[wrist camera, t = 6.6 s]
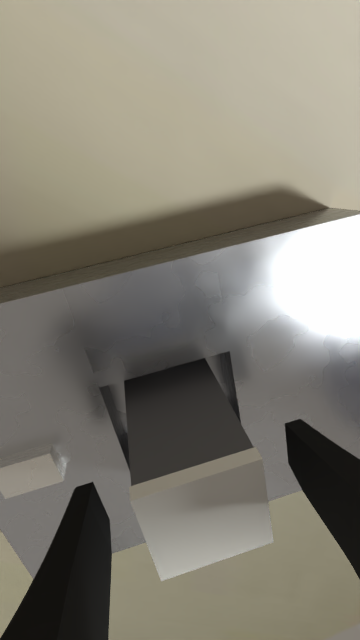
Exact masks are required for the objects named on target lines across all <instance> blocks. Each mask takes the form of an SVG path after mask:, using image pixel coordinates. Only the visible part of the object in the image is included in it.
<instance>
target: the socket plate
mask: <svg viewBox="0 0 360 640" xmlns="http://www.w3.org/2000/svg"><path fill="white" fill-rule="evenodd" d="M203 358H205V359H206V361H207V363H208V365H209V366H210V368H211V370H212V372H213V374H214V375H215V377H216V379H217V381H218V383H219V385H220V386H221V388H222V390H223V392H224V394H225V396H226V397H227V399H228V401H229V403H230V405H231V406H232V408H233V410H234V412H235V414H236V416H237V417H238V419H239V421H240V423H241V425H242V427H243V428H244V430H245V432H246V434H247V436H248V437H249V439H250V441H251V443H252V445H253V447H256V448H257V450H258V452H259V453H260V455H261V457H262V459H263V466H264V474H265V482H266V489H267V497H268V501H271V500H274V499H277V498H280V497H283V496H286V495H289V494H292V493H295V492H298V491H301V490H302V489H301V487H300V485H299V483H298V481H297V479H296V477H295V475H294V473H293V471H292V469H291V468H290V466H289V464H288V455H287V444H286V432H285V423H288V422H291V421H294V420H298V419H301V420H303V421H304V422H306V423H307V424H309V425H310V426H311V427H313V428H314V429H316V430H317V431H318V432H320V433H321V434H323V435H324V436H326V437H327V438H328V439H330V440H331V441H333V442H334V443H336V444H337V445H339V446H340V447H342V448H343V449H345V450H346V451H348V452H349V453H351V454H352V455H354V456H356V457H357V458H359V459H360V211H357V210H347V209H337V208H327V209H323V210H319V211H315V212H311V213H306V214H302V215H298V216H294V217H290V218H286V219H282V220H278V221H274V222H270V223H265V224H261V225H257V226H253V227H249V228H245V229H241V230H237V231H233V232H229V233H224V234H220V235H216V236H212V237H208V238H204V239H200V240H196V241H192V242H188V243H183V244H179V245H175V246H171V247H167V248H163V249H159V250H155V251H151V252H147V253H142V254H138V255H134V256H130V257H126V258H122V259H118V260H114V261H110V262H105V263H101V264H97V265H93V266H89V267H85V268H81V269H77V270H73V271H69V272H64V273H60V274H56V275H52V276H48V277H44V278H40V279H36V280H32V281H28V282H23V283H19V284H15V285H11V286H7V287H3V288H0V530H1V531H2V533H3V534H4V536H5V537H6V539H7V540H8V542H9V543H10V545H11V546H12V548H13V549H14V551H15V552H16V554H17V555H18V557H19V558H20V560H21V561H22V563H23V564H24V566H25V567H26V569H27V570H28V572H29V573H30V575H31V576H32V578H33V579H34V577H35V576H36V574H37V572H38V570H39V568H40V566H41V564H42V562H43V560H44V558H45V556H46V553H47V551H48V549H49V547H50V545H51V543H52V540H53V538H54V536H55V534H56V532H57V529H58V527H59V525H60V522H61V520H62V518H63V515H64V513H65V511H66V508H67V506H68V503H69V501H70V498H71V496H72V493H73V491H74V489H75V488H76V487H77V486H81V485H84V484H87V483H91V482H93V483H94V485H95V487H96V490H97V492H98V494H99V496H100V499H101V501H102V503H103V506H104V508H105V510H106V512H107V515H108V517H109V519H110V531H111V548H112V553H115V552H118V551H121V550H124V549H127V548H130V547H133V546H136V545H139V544H142V543H145V542H146V541H145V538H144V535H143V533H142V530H141V528H140V525H139V523H138V520H137V518H136V515H135V512H134V510H133V507H132V505H131V502H130V491H129V487H130V486H131V477H130V462H129V448H128V433H127V419H126V404H125V390H124V381H125V380H129V379H132V378H136V377H139V376H143V375H146V374H150V373H153V372H157V371H160V370H164V369H168V368H171V367H175V366H178V365H182V364H185V363H189V362H192V361H196V360H199V359H203Z"/></svg>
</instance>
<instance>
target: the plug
mask: <svg viewBox="0 0 360 640" xmlns="http://www.w3.org/2000/svg"><path fill="white" fill-rule="evenodd" d="M124 390H125V404H126V419H127V433H128V448H129V462H130V477H131V486H130V487H129V491H130V502H131V505H132V507H133V510H134V512H135V515H136V518H137V520H138V523H139V525H140V528H141V530H142V533H143V535H144V538H145V541H146V543H147V546H148V548H149V551H150V553H151V556H152V559H153V561H154V564H155V566H156V569H157V571H158V574H159V577H160V579H161V581H163V580H166V579H169V578H172V577H175V576H178V575H181V574H183V573H186V572H189V571H192V570H195V569H198V568H201V567H204V566H206V565H209V564H212V563H215V562H218V561H221V560H224V559H227V558H229V557H232V556H235V555H238V554H241V553H244V552H247V551H250V550H252V549H255V548H258V547H261V546H264V545H267V544H270V543H273V535H272V527H271V520H270V512H269V504H268V497H267V489H266V482H265V474H264V466H263V459H262V457H261V455H260V453H259V452H258V450H257V448H256V447H253V445H252V443H251V441H250V439H249V437H248V436H247V434H246V432H245V430H244V428H243V427H242V425H241V423H240V421H239V419H238V417H237V416H236V414H235V412H234V410H233V408H232V406H231V405H230V403H229V401H228V399H227V397H226V396H225V394H224V392H223V390H222V388H221V386H220V385H219V383H218V381H217V379H216V377H215V375H214V374H213V372H212V370H211V368H210V366H209V365H208V363H207V361H206V359H205V358H203V359H199V360H196V361H192V362H189V363H185V364H182V365H178V366H175V367H171V368H168V369H164V370H160V371H157V372H153V373H150V374H146V375H143V376H139V377H136V378H132V379H129V380H125V381H124Z"/></svg>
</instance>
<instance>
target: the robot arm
mask: <svg viewBox="0 0 360 640" xmlns="http://www.w3.org/2000/svg"><path fill="white" fill-rule="evenodd" d="M285 432H286V444H287V455H288V464H289V466H290V468H291V469H292V471H293V473H294V475H295V477H296V479H297V481H298V483H299V485H300V487H301V489H302V490H303V492H304V493H305V495H306V496H307V498H308V499H309V501H310V502H311V504H312V505H313V507H314V508H315V510H316V511H317V513H318V514H319V516H320V517H321V519H322V520H323V522H324V523H325V525H326V526H327V528H328V529H329V531H330V532H331V534H332V535H333V537H334V538H335V540H336V541H337V543H338V544H339V546H340V547H341V549H342V550H343V552H344V553H345V555H346V557H347V558H348V560H349V561H350V563H351V565H352V566H353V568H354V570H355V572H356V573H357V575H358V577H359V579H360V459H359V458H357V457H356V456H354V455H352V454H351V453H349V452H348V451H346V450H345V449H343V448H342V447H340V446H339V445H337V444H336V443H334V442H333V441H331V440H330V439H328V438H327V437H326V436H324V435H323V434H321V433H320V432H318V431H317V430H316V429H314V428H313V427H311V426H310V425H309V424H307V423H306V422H304V421H303V420H301V419H298V420H294V421H291V422H288V423H285ZM111 559H112V548H111V531H110V519H109V517H108V515H107V512H106V510H105V508H104V506H103V503H102V501H101V499H100V496H99V494H98V492H97V490H96V487H95V485H94V483H93V482H91V483H87V484H84V485H81V486H77V487H76V488H75V489H74V491H73V493H72V496H71V498H70V501H69V503H68V506H67V508H66V511H65V513H64V515H63V518H62V520H61V522H60V525H59V527H58V529H57V532H56V534H55V536H54V538H53V540H52V543H51V545H50V547H49V549H48V551H47V553H46V556H45V558H44V560H43V562H42V564H41V566H40V568H39V570H38V572H37V574H36V576H35V577H34V579H33V581H32V583H31V585H30V587H29V589H28V591H27V593H26V595H25V597H24V598H23V600H22V602H21V604H20V606H19V608H18V609H17V611H16V613H15V615H14V616H13V618H12V620H11V621H10V623H9V625H8V627H7V628H6V630H5V632H4V633H3V635H2V637H1V638H0V640H108V629H109V606H110V584H111Z"/></svg>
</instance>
